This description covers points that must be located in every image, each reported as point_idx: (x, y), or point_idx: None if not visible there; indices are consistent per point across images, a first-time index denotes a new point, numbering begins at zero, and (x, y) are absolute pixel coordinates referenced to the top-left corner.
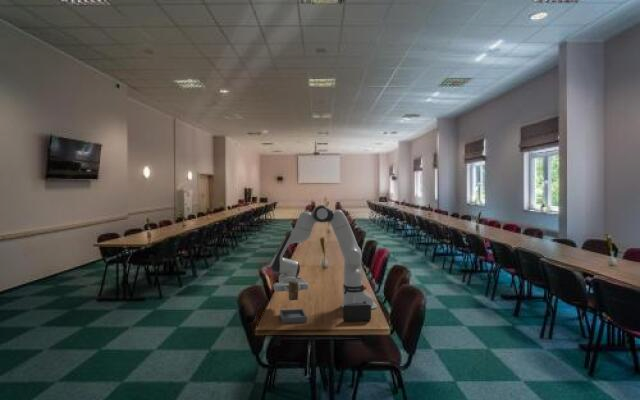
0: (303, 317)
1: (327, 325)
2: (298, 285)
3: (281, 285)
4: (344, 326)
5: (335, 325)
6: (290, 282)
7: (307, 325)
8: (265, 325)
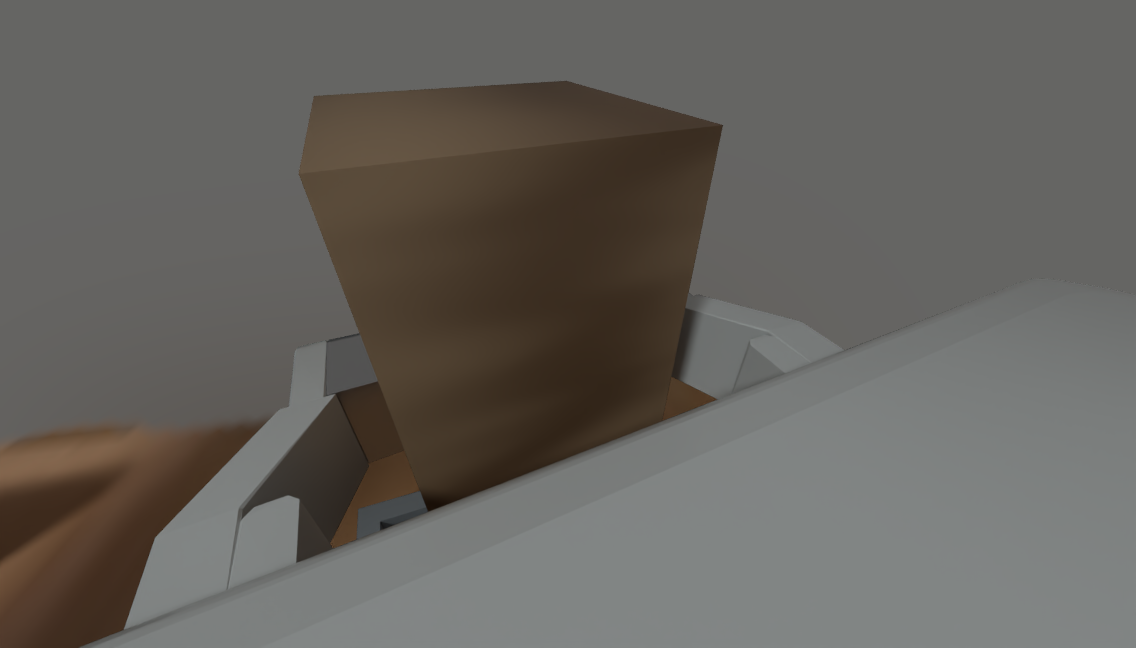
0: (403, 499)
1: (190, 485)
2: (222, 616)
3: (959, 317)
4: (28, 486)
5: (104, 496)
6: (580, 92)
7: (385, 459)
8: None
